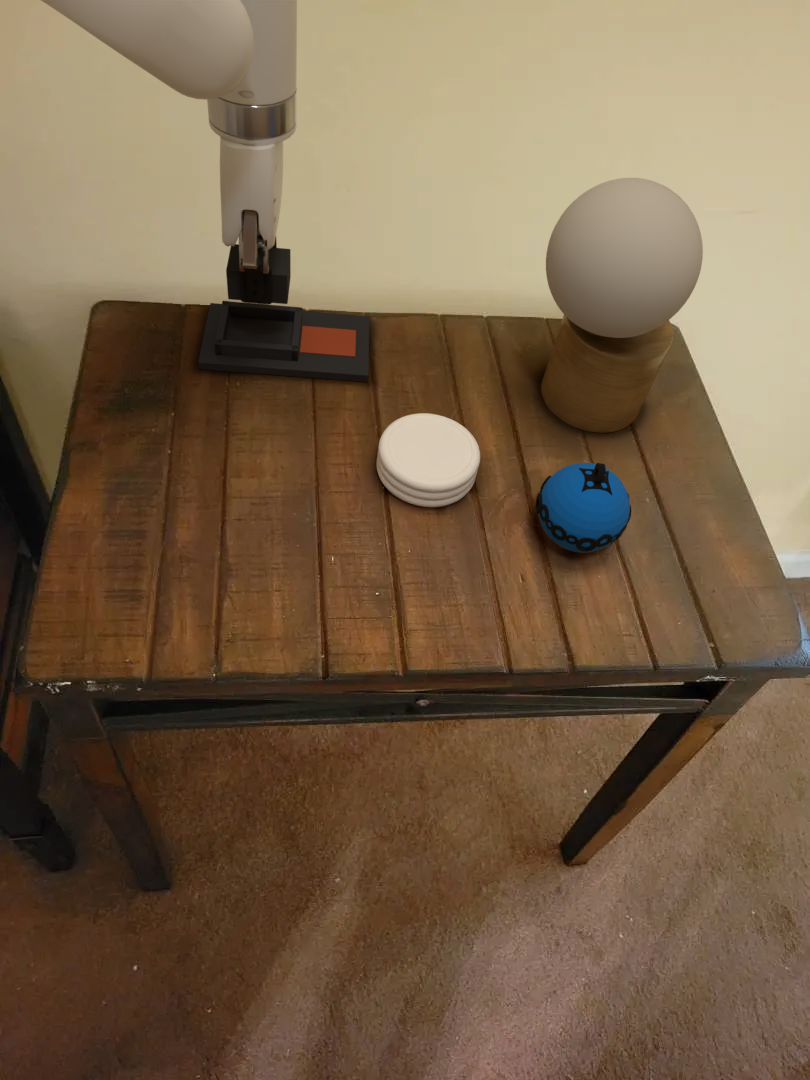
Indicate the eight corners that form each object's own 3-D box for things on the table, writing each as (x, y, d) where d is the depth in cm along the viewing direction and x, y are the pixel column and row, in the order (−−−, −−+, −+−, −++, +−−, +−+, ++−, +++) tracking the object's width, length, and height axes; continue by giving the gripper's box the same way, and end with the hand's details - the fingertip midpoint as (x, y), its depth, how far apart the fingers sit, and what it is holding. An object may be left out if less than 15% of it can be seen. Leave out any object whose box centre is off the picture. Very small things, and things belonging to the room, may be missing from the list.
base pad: (198, 369, 87) (196, 351, 85) (210, 309, 93) (209, 291, 91) (367, 382, 89) (369, 364, 87) (368, 323, 95) (370, 305, 93)
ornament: (619, 575, 77) (657, 509, 69) (529, 566, 77) (557, 498, 69) (609, 505, 82) (643, 435, 74) (525, 496, 82) (550, 425, 74)
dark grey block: (228, 299, 83) (225, 270, 81) (233, 272, 86) (231, 243, 83) (287, 304, 84) (287, 275, 81) (290, 277, 87) (290, 248, 84)
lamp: (539, 457, 85) (615, 245, 65) (487, 367, 93) (542, 152, 73) (663, 434, 89) (771, 228, 69) (605, 349, 97) (686, 141, 77)
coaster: (356, 476, 81) (358, 451, 78) (411, 420, 86) (415, 396, 83) (441, 526, 78) (447, 503, 75) (492, 465, 84) (499, 442, 81)
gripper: (219, 57, 75) (231, 234, 90) (193, 153, 65) (211, 336, 79) (302, 66, 76) (300, 241, 90) (289, 163, 66) (289, 342, 80)
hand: (259, 284), depth 85 cm, fingers closed on dark grey block, 4 cm apart
